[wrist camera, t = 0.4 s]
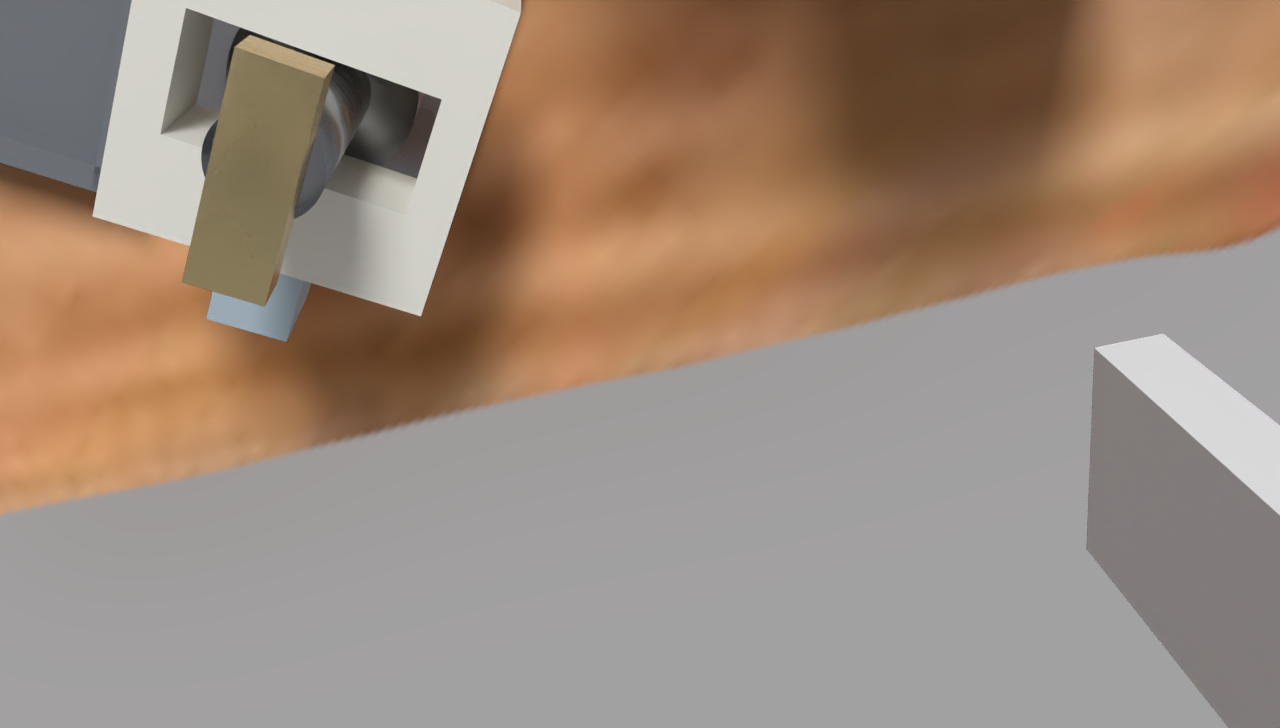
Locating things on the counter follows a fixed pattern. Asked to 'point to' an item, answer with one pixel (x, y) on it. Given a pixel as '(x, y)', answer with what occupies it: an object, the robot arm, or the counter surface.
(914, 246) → the counter surface
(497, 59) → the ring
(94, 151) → the tray
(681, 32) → the counter surface
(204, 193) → the metal post stand
